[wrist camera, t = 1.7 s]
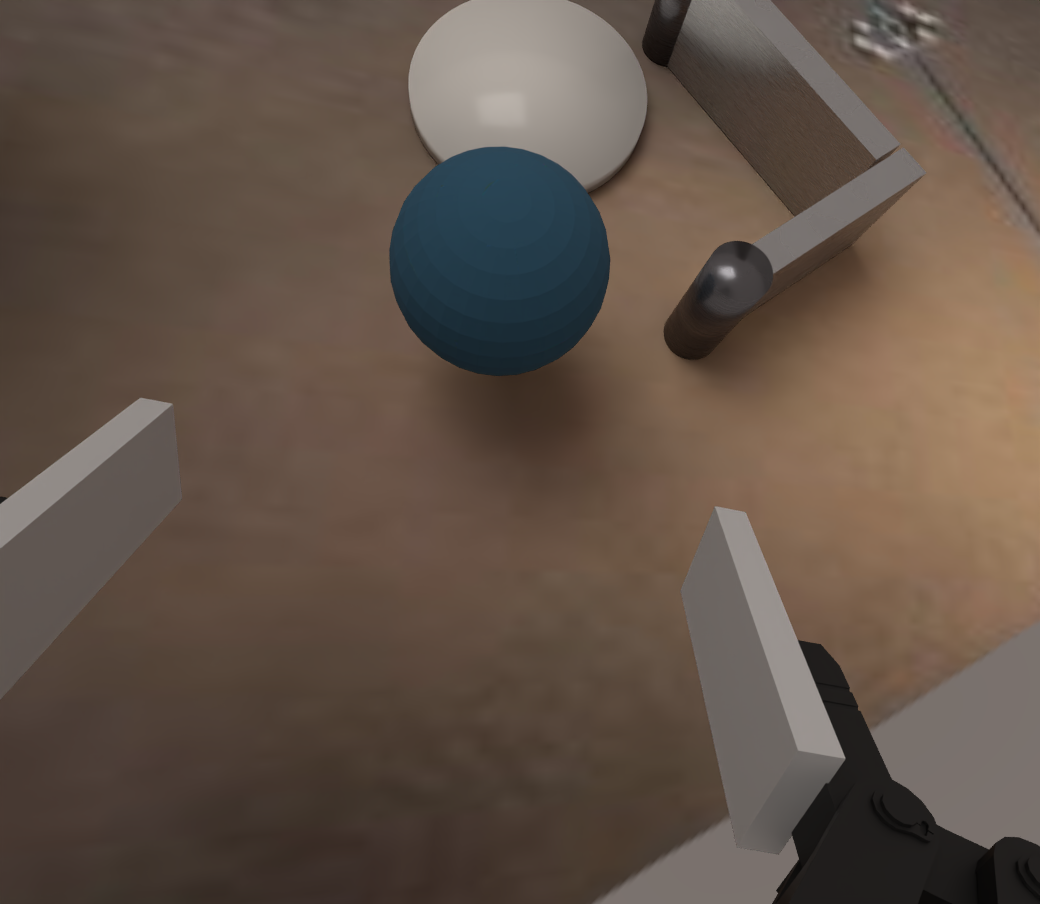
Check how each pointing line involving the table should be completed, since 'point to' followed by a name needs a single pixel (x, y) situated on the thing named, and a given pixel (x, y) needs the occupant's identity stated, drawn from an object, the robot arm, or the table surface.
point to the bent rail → (774, 153)
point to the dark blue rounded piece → (499, 260)
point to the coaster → (529, 86)
